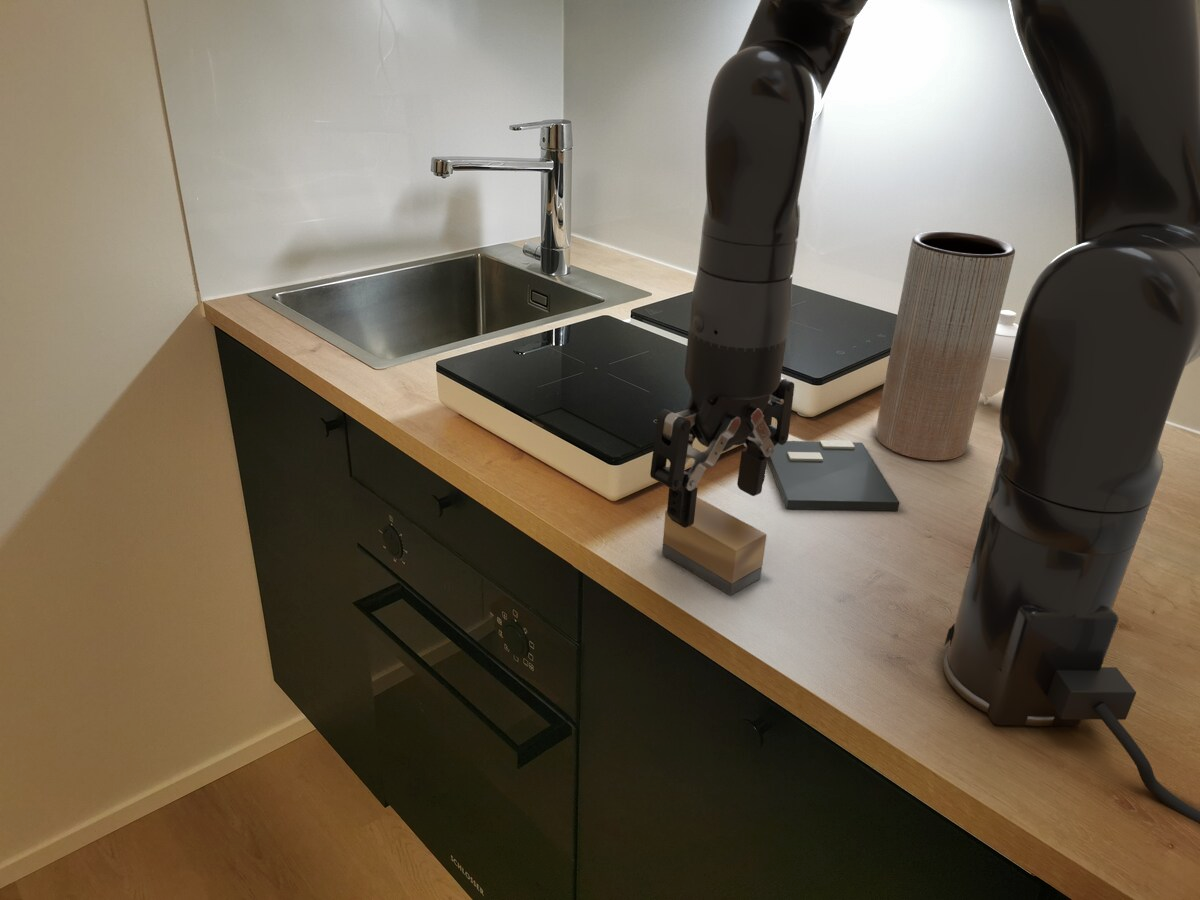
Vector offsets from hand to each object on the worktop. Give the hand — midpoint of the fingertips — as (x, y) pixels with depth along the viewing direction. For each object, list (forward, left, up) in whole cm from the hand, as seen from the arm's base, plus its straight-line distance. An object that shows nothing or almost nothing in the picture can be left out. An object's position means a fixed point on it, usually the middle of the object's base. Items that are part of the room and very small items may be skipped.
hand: (716, 506), depth 77 cm
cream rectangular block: (+18, -12, -5) cm, 23 cm away
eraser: (-1, 0, -6) cm, 6 cm away
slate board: (+16, -14, -6) cm, 22 cm away
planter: (+25, -27, -6) cm, 37 cm away
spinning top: (+36, -39, -6) cm, 53 cm away
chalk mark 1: (+21, -17, -5) cm, 27 cm away
